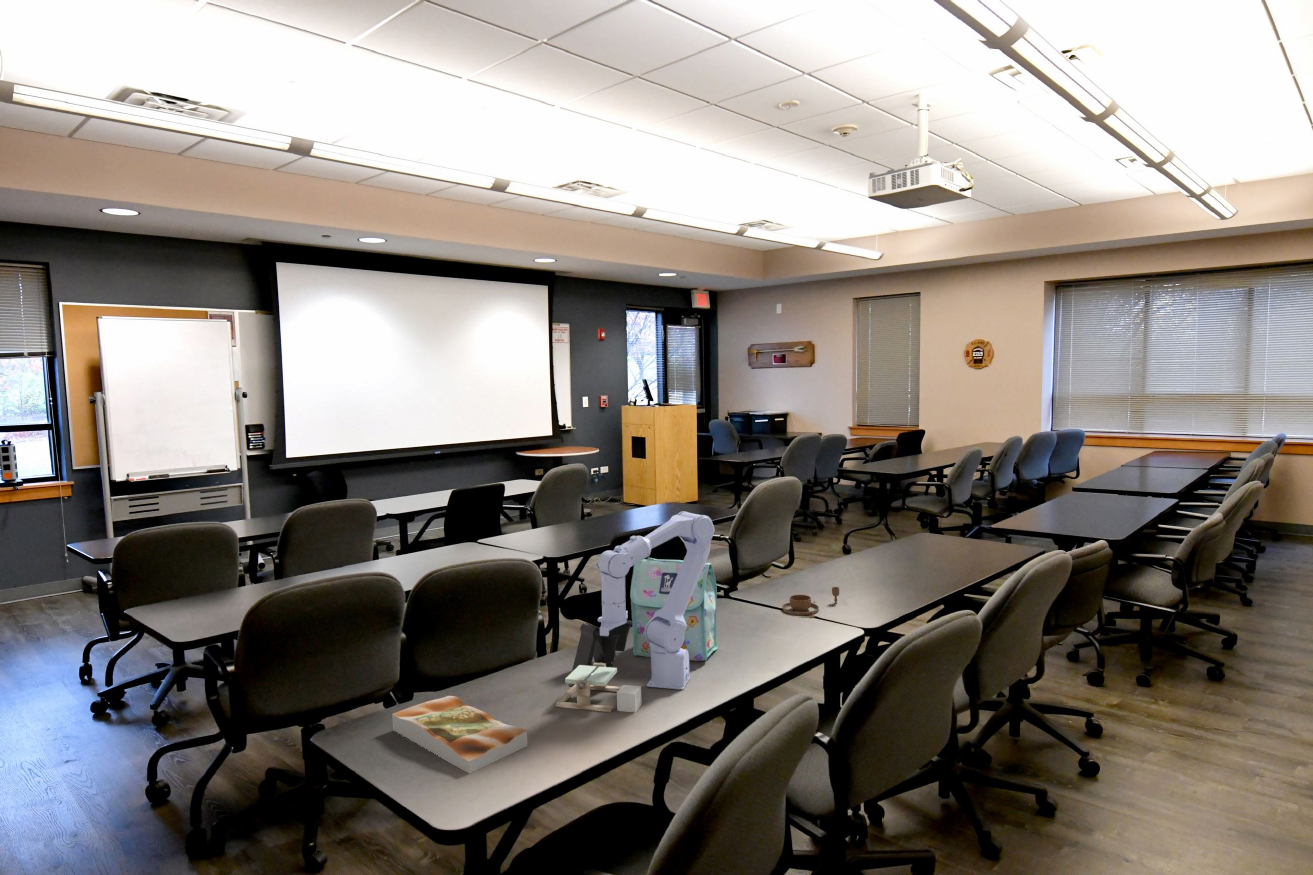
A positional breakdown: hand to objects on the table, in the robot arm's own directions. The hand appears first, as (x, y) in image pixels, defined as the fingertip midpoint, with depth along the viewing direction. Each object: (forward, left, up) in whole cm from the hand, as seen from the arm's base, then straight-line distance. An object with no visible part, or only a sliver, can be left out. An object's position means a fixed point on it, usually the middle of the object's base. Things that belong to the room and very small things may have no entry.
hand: (614, 656), depth 181 cm
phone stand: (+13, -16, -11) cm, 23 cm away
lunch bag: (-6, -32, -11) cm, 35 cm away
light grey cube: (-5, +5, -11) cm, 12 cm away
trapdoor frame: (+6, +2, -10) cm, 12 cm away
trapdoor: (+6, +2, -7) cm, 9 cm away
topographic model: (+27, +27, -11) cm, 40 cm away
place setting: (-41, -79, -11) cm, 90 cm away
